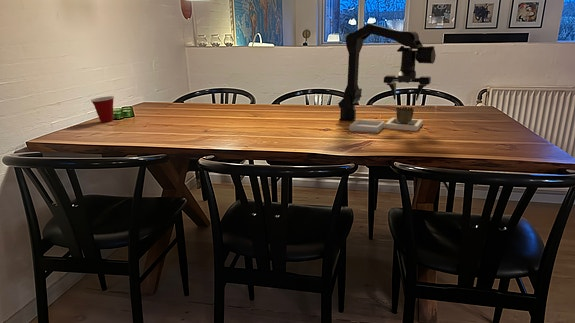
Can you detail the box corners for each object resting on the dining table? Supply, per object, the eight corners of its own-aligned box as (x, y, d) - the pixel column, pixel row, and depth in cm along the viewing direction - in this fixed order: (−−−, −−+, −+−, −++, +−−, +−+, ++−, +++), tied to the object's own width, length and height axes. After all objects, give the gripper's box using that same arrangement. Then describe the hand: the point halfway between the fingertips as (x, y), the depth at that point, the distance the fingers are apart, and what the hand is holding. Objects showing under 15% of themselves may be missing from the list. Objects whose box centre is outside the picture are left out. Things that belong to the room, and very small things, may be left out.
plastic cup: (95, 120, 202) (91, 96, 198) (118, 118, 205) (114, 95, 201) (93, 124, 192) (88, 100, 188) (116, 122, 195) (113, 98, 192)
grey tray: (349, 130, 169) (349, 124, 168) (357, 124, 179) (358, 119, 178) (377, 133, 164) (377, 127, 163) (384, 126, 174) (384, 121, 173)
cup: (413, 128, 170) (414, 110, 168) (395, 127, 172) (396, 109, 169) (411, 124, 177) (413, 106, 174) (394, 124, 178) (395, 106, 176)
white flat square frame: (384, 128, 172) (384, 123, 171) (391, 121, 183) (392, 117, 182) (417, 130, 166) (417, 126, 165) (422, 124, 177) (422, 119, 176)
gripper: (381, 64, 163) (379, 101, 168) (428, 65, 155) (425, 104, 160) (387, 62, 172) (385, 97, 177) (432, 62, 164) (429, 100, 169)
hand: (405, 100), depth 171 cm, fingers open, 9 cm apart
